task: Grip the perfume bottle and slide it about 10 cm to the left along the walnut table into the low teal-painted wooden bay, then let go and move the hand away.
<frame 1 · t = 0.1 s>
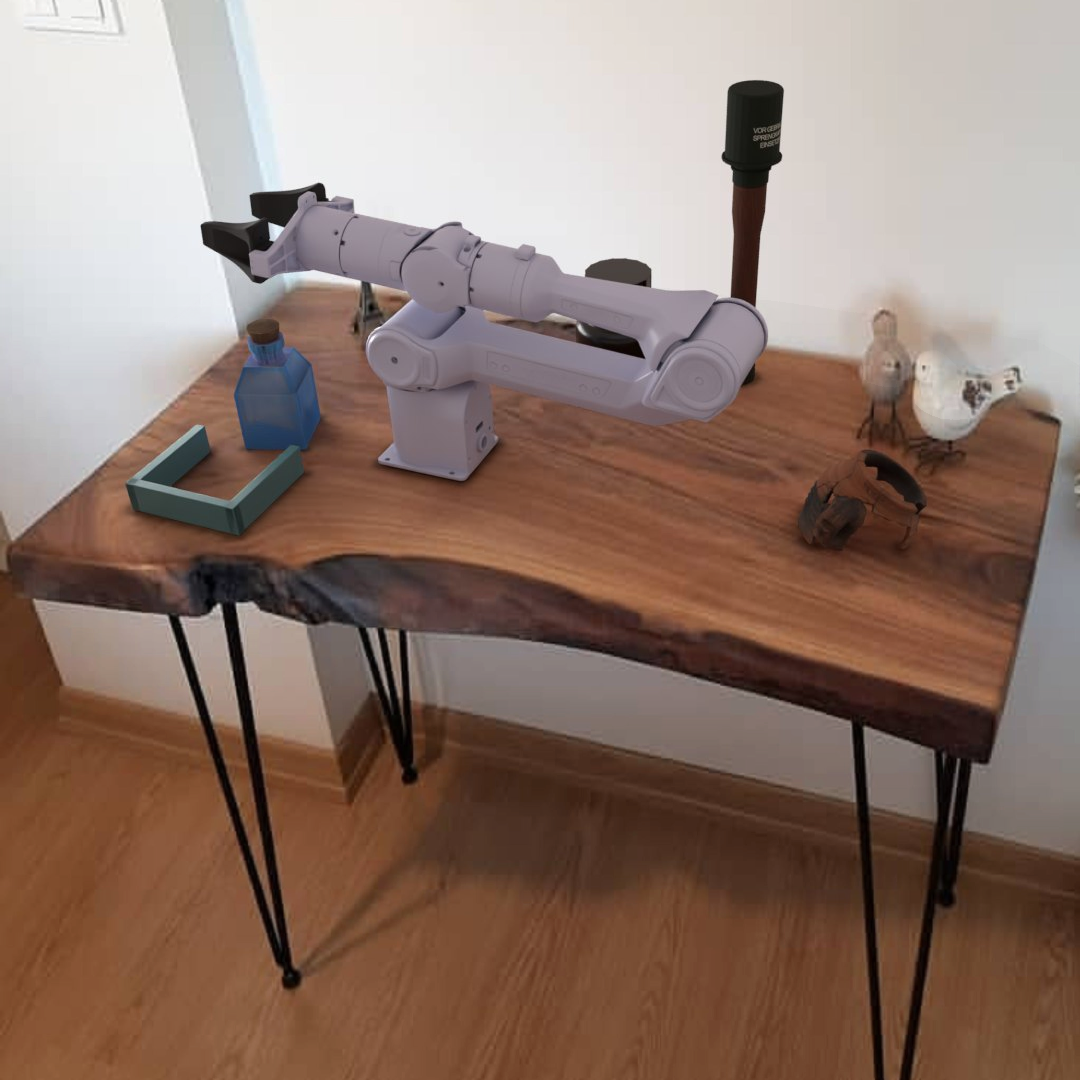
hand: (228, 218, 114), 22 cm above the table, tool horizontal, fingers open, 7 cm apart
bay: (223, 487, 117), on the table
grenade: (738, 379, 130), on the table
brown curved piece: (850, 539, 106), on the table
ink bottle: (618, 378, 131), on the table
perfume bottle: (284, 434, 125), on the table
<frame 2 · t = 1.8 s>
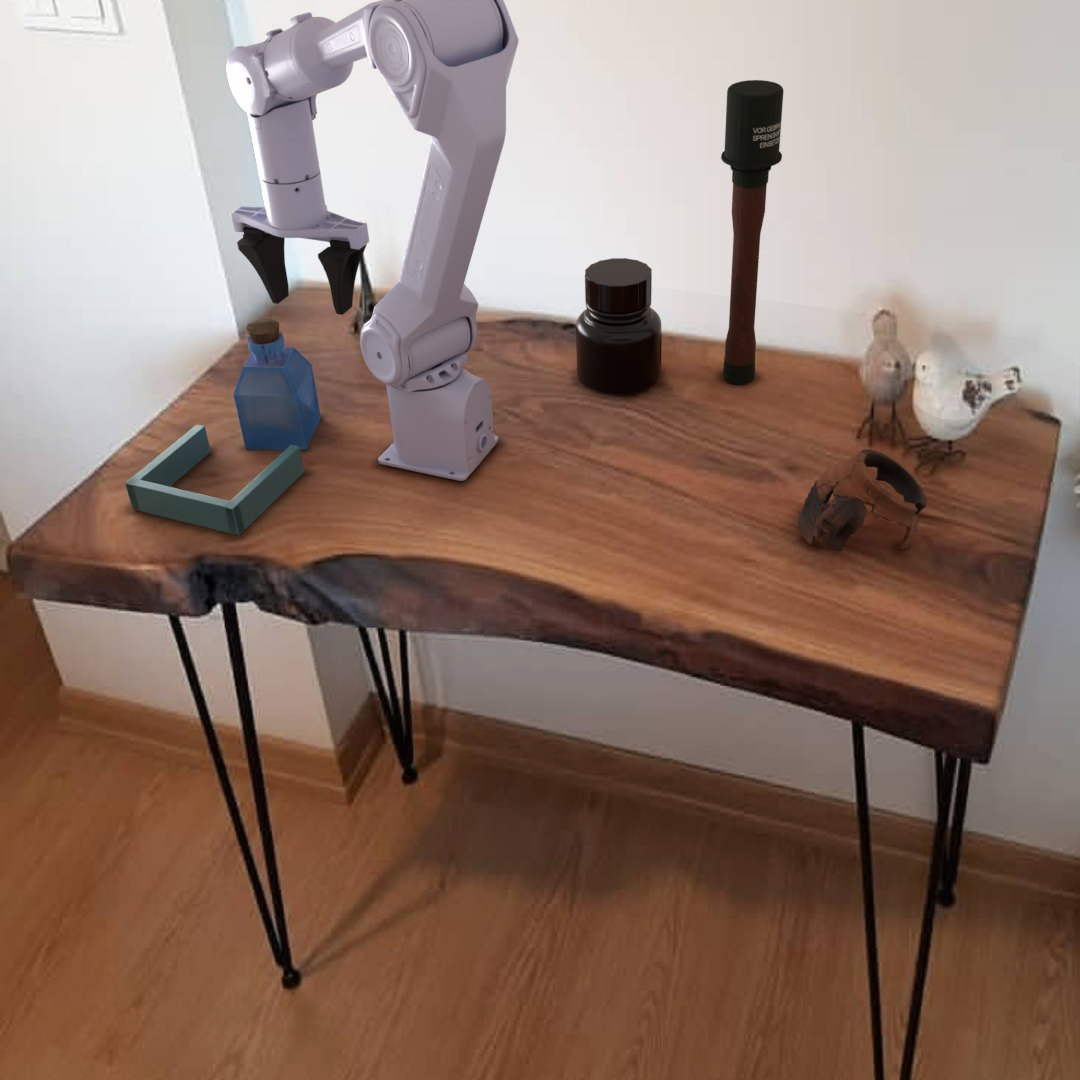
hand: (312, 304, 124), 10 cm above the table, tool pointing down, fingers open, 7 cm apart
nothing on the table moved.
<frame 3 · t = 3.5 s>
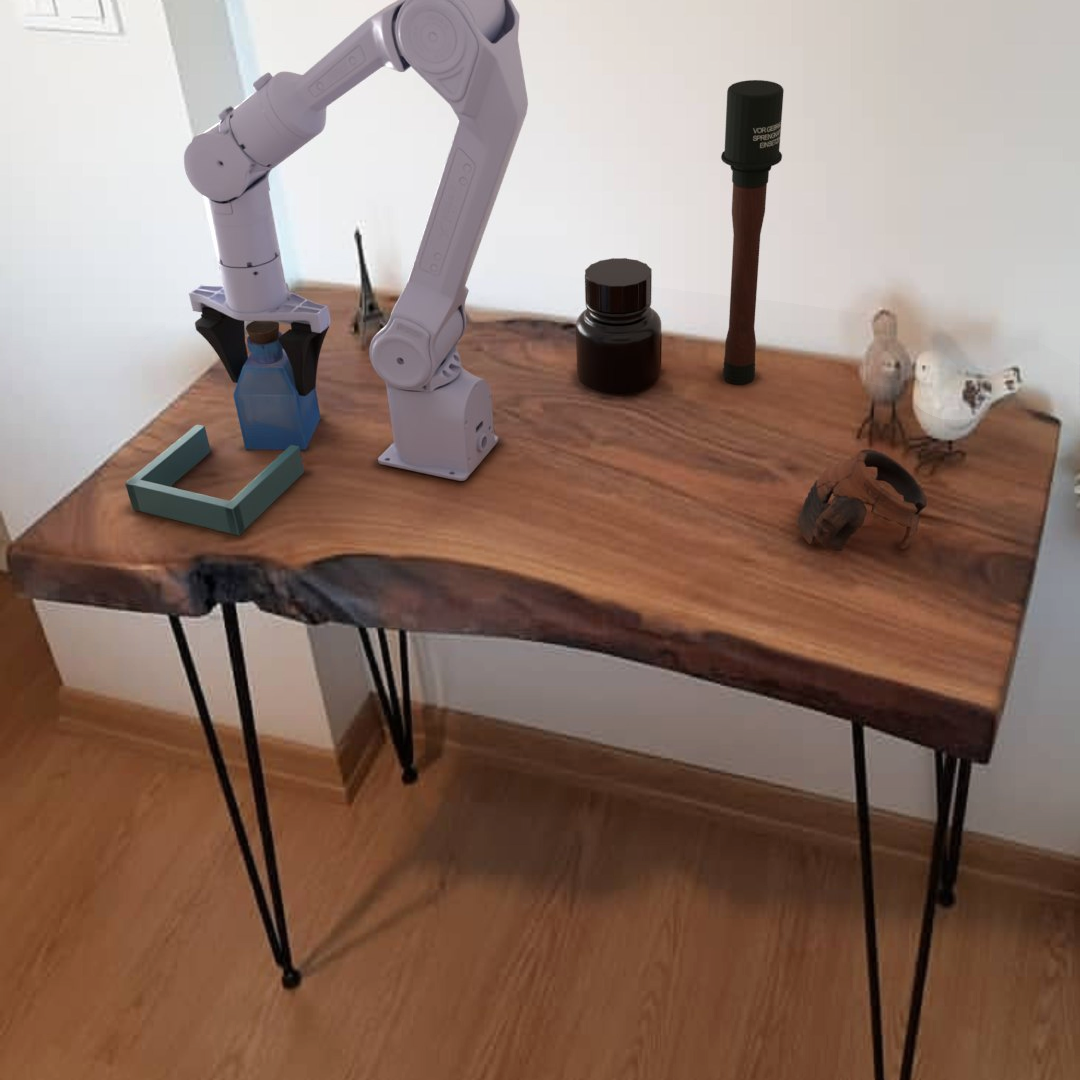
hand: (274, 384, 121), 6 cm above the table, tool pointing down
perfume bottle: (284, 434, 125), on the table, touching gripper
everything else where it was.
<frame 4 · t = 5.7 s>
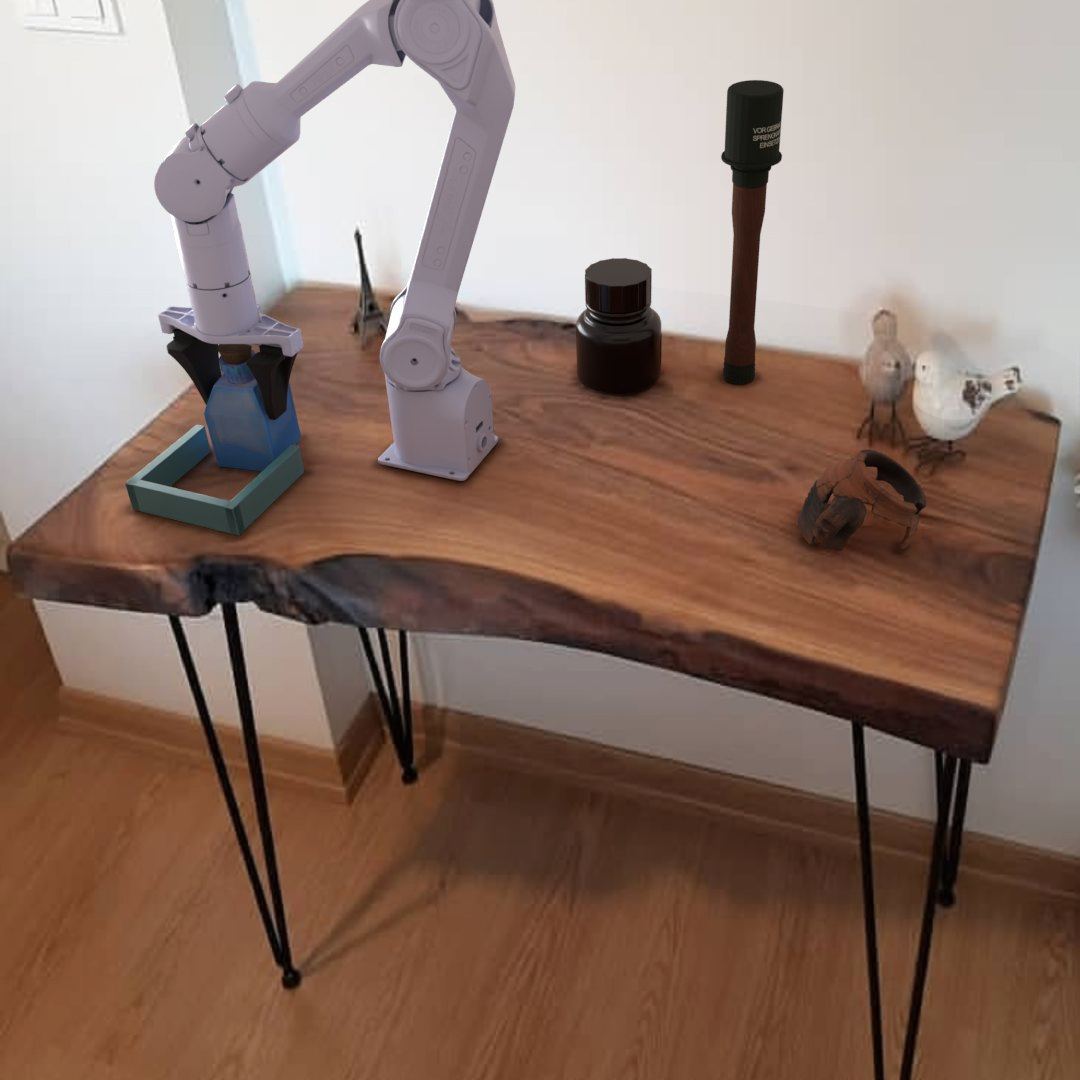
hand: (246, 408, 118), 6 cm above the table, tool pointing down, fingers closed on perfume bottle, 7 cm apart
perfume bottle: (260, 453, 122), on the table, touching gripper
everything else where it was.
when the fingers open (6 cm above the table, at t = 8.2 s): perfume bottle stays where it is, on the table.
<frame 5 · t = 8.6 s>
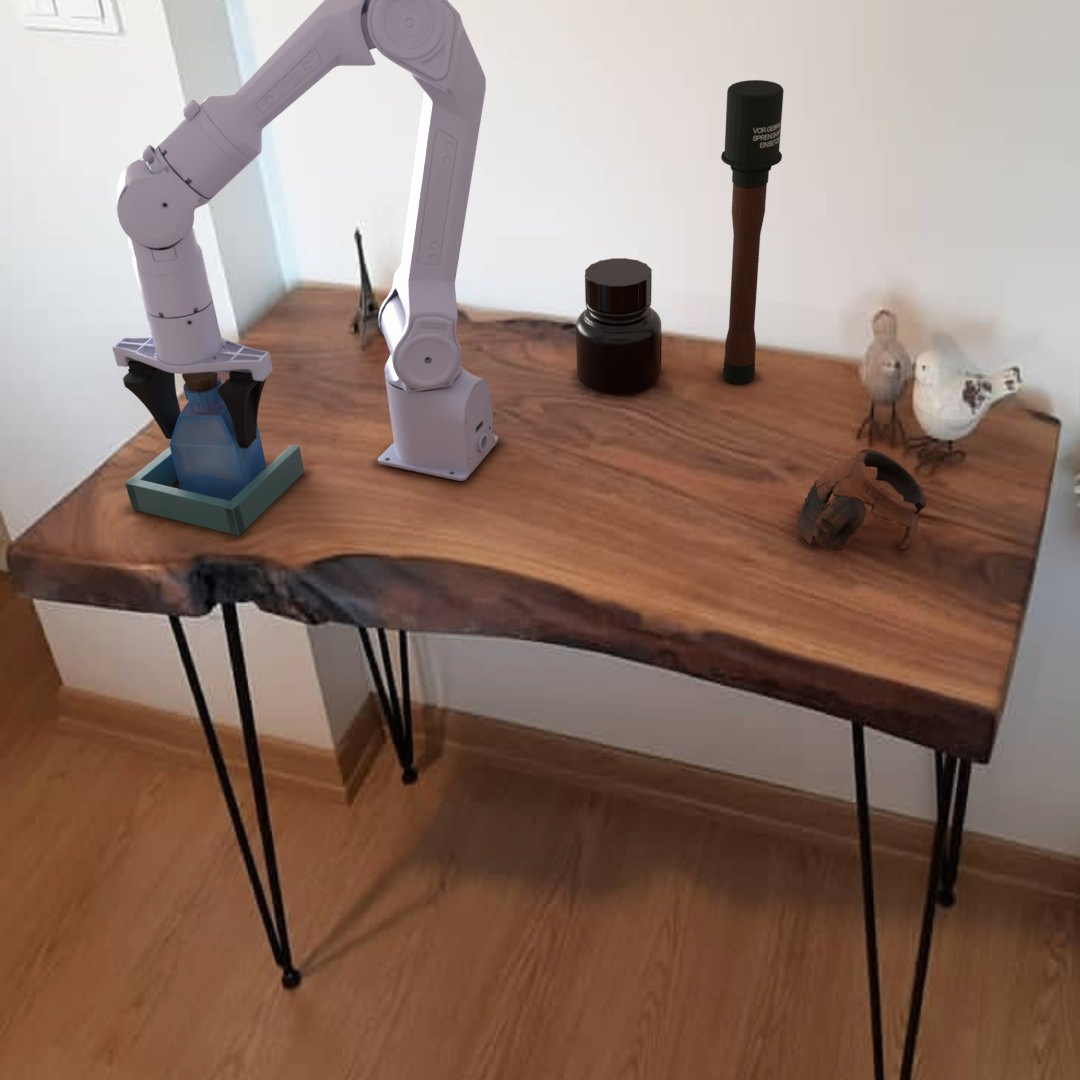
hand: (211, 438, 114), 6 cm above the table, tool pointing down, fingers open, 7 cm apart
perfume bottle: (226, 484, 118), on the table
everything else where it was.
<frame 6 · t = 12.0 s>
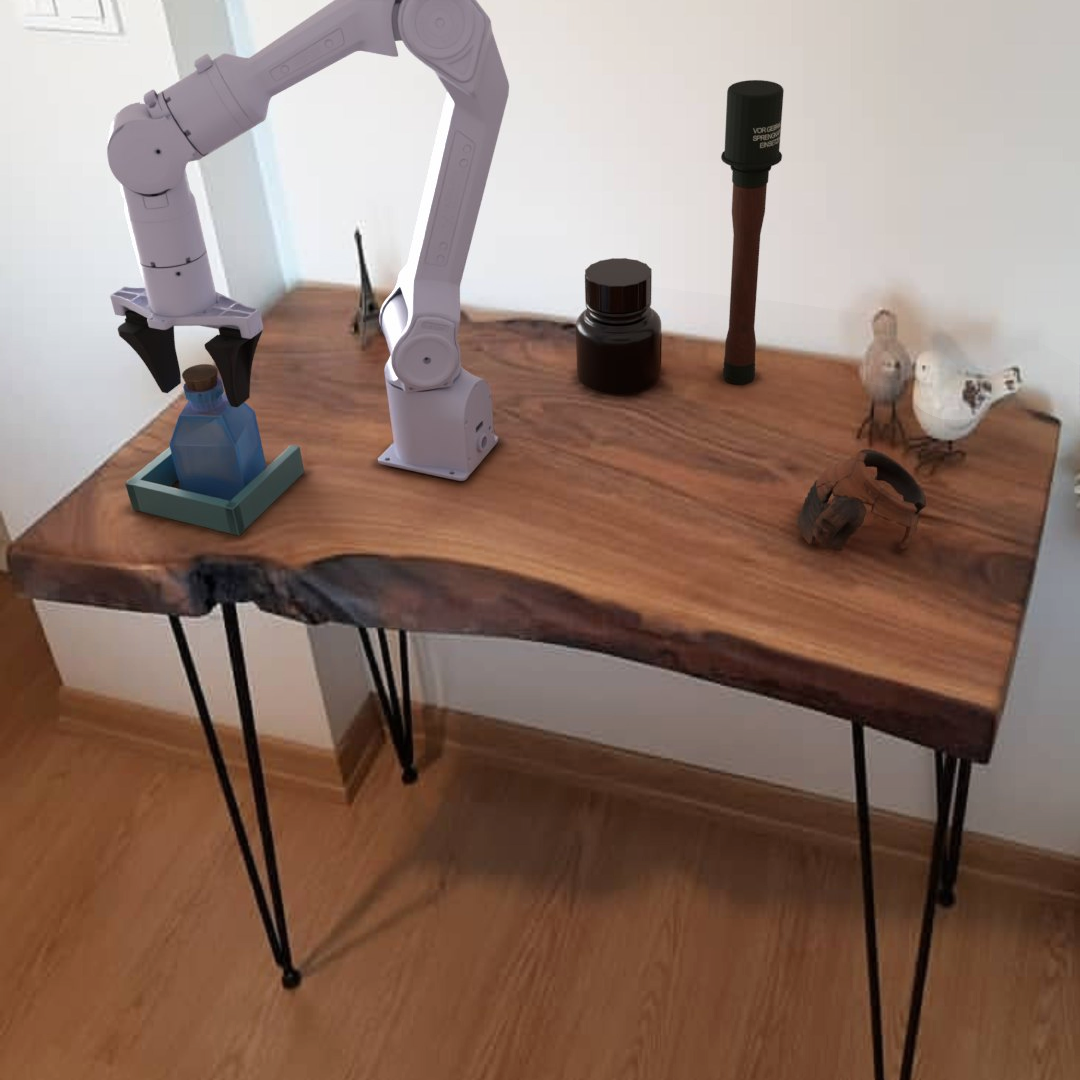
hand: (205, 394, 111), 10 cm above the table, tool pointing down, fingers open, 7 cm apart
nothing on the table moved.
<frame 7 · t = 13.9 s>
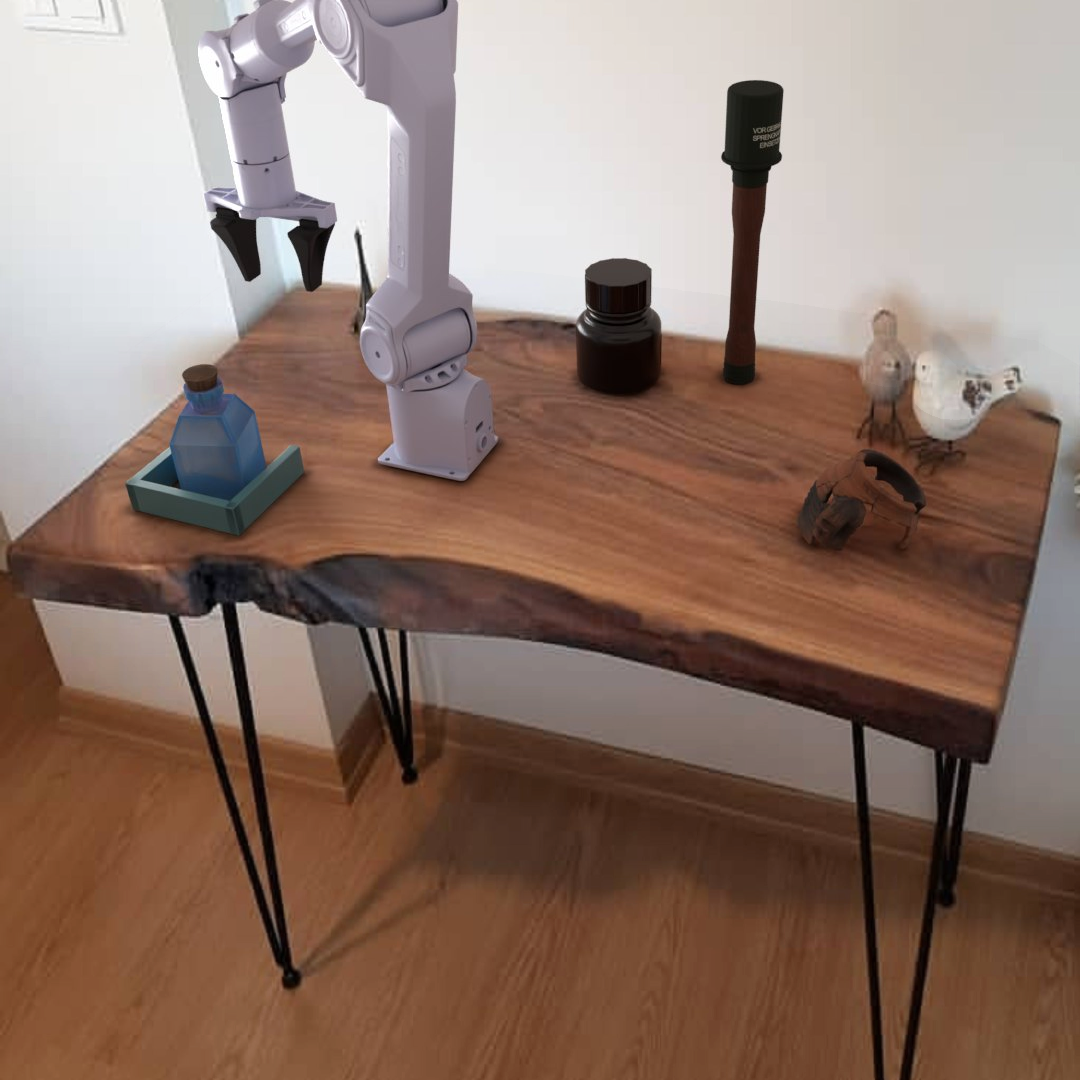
hand: (283, 282, 129), 10 cm above the table, tool pointing down, fingers open, 7 cm apart
nothing on the table moved.
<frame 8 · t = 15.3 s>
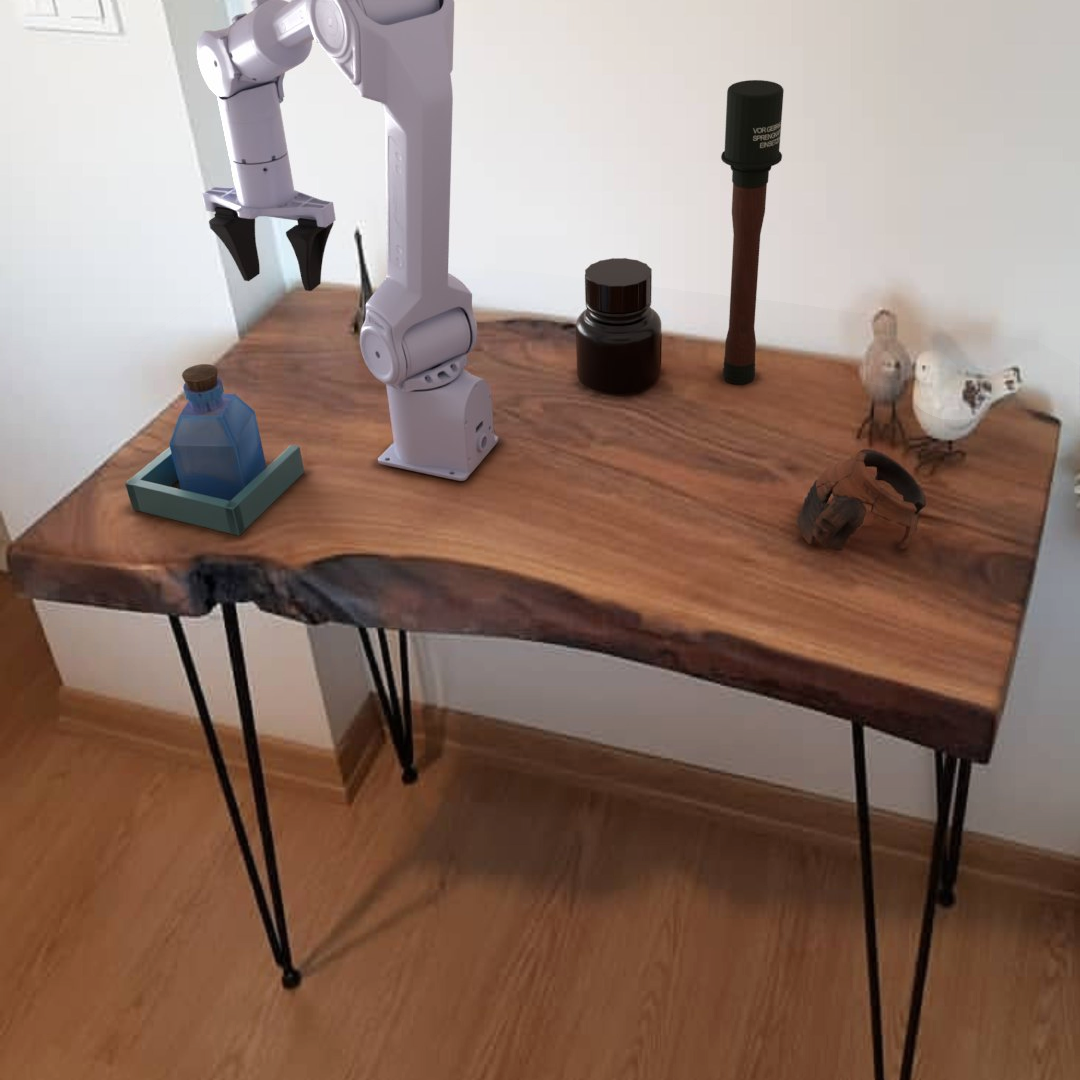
hand: (282, 282, 129), 10 cm above the table, tool pointing down, fingers open, 7 cm apart
nothing on the table moved.
at the end: perfume bottle inside the target area on the bay (1.6 cm from its centre), point 0.0 cm above the bay's base; perfume bottle tilted 0°; the gripper is holding nothing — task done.
